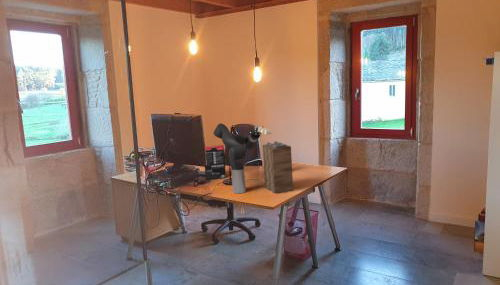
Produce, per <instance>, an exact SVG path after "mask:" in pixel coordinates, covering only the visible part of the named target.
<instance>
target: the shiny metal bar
mask: <svg viewBox="0 0 500 285" xmlns="http://www.w3.org/2000/svg"><path fill="white" fill-rule="evenodd" d="M257 127H258V131H257V132H260V133H262V134H263V135H266V136H268V135H272V129H269V128H266V127H264V126H263V127H264V128H263V127H262V126H254V130H255V129H256V128H257Z"/></svg>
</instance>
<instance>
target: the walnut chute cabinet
mask: <svg viewBox="0 0 500 285" xmlns="http://www.w3.org/2000/svg"><path fill="white" fill-rule="evenodd" d="M273 142H274V143H272V142H266V144H263V145H262V154H263V155H262V156H263V172H264V185H265V186H264V187H265V188H266V189H267V190H269V191H270V192H271V191H272V192H271V193H273V194H274V193H278V194H282V193H281V192H284V193H288V191H289V192H293V191H294V183H293V182H294V181H293V178H294V177H293V163H292V162H293V159H292V158H293V157H292V146H291V145H288V144H285V143H282V142H279V141H273Z"/></svg>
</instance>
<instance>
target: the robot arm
mask: <svg viewBox="0 0 500 285" xmlns="http://www.w3.org/2000/svg"><path fill="white" fill-rule="evenodd" d="M256 127H257V128H256V129H255V128H254V129H253V128H252V129H250V130H249V132H248V134H249V136H244V135H241V134H239V133H236V134H237V136H235V137H233V134H232V133H231V132H230V130H229V127H227V125H225V124H223V123H218V124H217V126H216V127H215V129H214V131H213V135H214V136H215V137H216V138H218V139H221V141H222V143H223V146H224V147H225V148H228V149H229V152H228V154H229V159H230V170H231V182H232V192H233V194H238V193H239V194H243V193H246V191H247V190H246V176H245V174H246V173H245V165H244V163H242V162H237V160H242V159H245V157H246V156H247V155H246V154H247V153H246V152H247V151H246V150H252V149H253V148H254V147H255V144H256V143H257V141H258V140H259V138H260V137H261V135H262V134H263V133H260V132H257V131H258V126H256ZM261 127H263V128H265V127H264V126H261ZM243 145H244V146H243ZM244 147H245V148H244Z"/></svg>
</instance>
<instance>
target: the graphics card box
mask: <svg viewBox="0 0 500 285" xmlns="http://www.w3.org/2000/svg"><path fill="white" fill-rule="evenodd" d="M204 147H205V148H206V159H207V165H206V166H205V165H204V173H205V174H204V176H205V179H206V178H207V179H206V180H217V179H226V177H227V173H226V161H225V159H226V158H225V156H226V155H225V148H224V147H225V145H224V144H219V145H208V146H206V145H205V146H204Z"/></svg>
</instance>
